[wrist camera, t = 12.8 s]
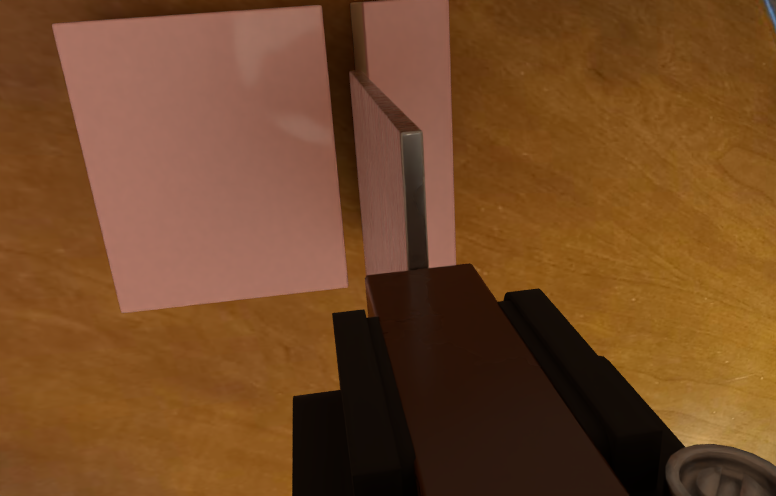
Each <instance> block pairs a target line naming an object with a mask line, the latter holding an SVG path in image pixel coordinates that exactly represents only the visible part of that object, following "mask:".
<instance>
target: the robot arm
mask: <svg viewBox="0 0 776 496" xmlns="http://www.w3.org/2000/svg"><path fill="white" fill-rule="evenodd" d="M497 303H498V304H499V306H500V307H501V308H502V310H503V311H504V313H505V314H506V316H507V317H508V319H509V320H510V322H511V323H512V325H513V326H514V328H515V329H516V330H517V332H518V333H519V335H520V336H521V338H522V339H523V341H524V342H525V344H526V345H527V347H528V348H529V350H530V351H531V352H532V354H533V355H534V357H535V358H536V360H537V361H538V363H539V364H540V366H541V367H542V369H543V370H544V372H545V373H546V374H547V376H548V377H549V379H550V380H551V382H552V383H553V385H554V386H555V388H556V389H557V391H558V392H559V394H560V395H561V397H562V398H563V399H564V401H565V402H566V404H567V405H568V407H569V408H570V410H571V411H572V413H573V414H574V416H575V417H576V419H577V420H578V421H579V423H580V424H581V426H582V427H583V429H584V430H585V432H586V433H587V434H588V435H589V436H590V438H591V439H592V441H593V442H594V444H595V445H596V447H597V448H598V449H599V451H600V452H601V454H602V455H603V457H604V458H605V460H606V461H607V463H608V464H609V466H610V467H611V468H612V470H613V471H614V473H615V474H616V476H617V477H618V479H619V480H620V482H621V483H622V485H623V486H624V487H625V489H626V490H627V492H628V493H629V495H630V496H776V466H774V465H773V464H772V463H770V462H768V461H766V460H764V459H762V458H761V457H759V456H757V455H755V454H753V453H750V452H747V451H744V450H740V449H737V448H734V447H729V446H723V445H716V444H700V445H693V446H689V447H685V446H684V445H683V444H682V443H681V442H680V441H679V439H678V438H677V437H676V436H675V435H674V434H673V433H672V431H671V430H670V429H669V428H668V427H667V426H666V425H665V424H664V422H663V421H662V420H661V419H660V418H659V417H658V416H657V415H656V413H655V412H654V411H653V410H652V409H651V408H650V407H649V405H648V404H647V403H646V402H645V401H644V400H643V399H642V398H641V396H640V395H639V394H638V393H637V392H636V391H635V390H634V388H633V387H632V386H631V385H630V384H629V383H628V382H627V381H626V379H625V378H624V377H623V376H622V375H621V374H620V373H619V372H618V370H617V369H616V368H615V367H614V366H613V365H612V364H611V362H610V361H609V360H607V359H606V358H605V357H603V356H598V355H597V354H596V353H595V352H594V350H593V349H592V348H591V347H590V346H589V345H588V344H587V342H586V341H585V340H584V339H583V338H582V337H581V335H580V334H579V333H578V332H577V331H576V330H575V329H574V327H573V326H572V325H571V324H570V323H569V322H568V320H567V319H566V318H565V317H564V316H563V315H562V314H561V312H560V311H559V310H558V309H557V308H556V307H555V305H554V304H553V303H552V302H551V301H550V300H549V299H548V297H547V296H546V295H545V294H544V293H543V292H542V290H540V289H531V290H523V291H514V292H507V293H506V294H505V297H504V301H500V302H497ZM332 316H333V325H334V335H335V344H336V353H337V363H338V372H339V381H340V390H336V391H329V392H321V393H314V394H306V395H299V396H294V397H293V473H292V496H416V485H415V476H414V460H415V459H416V456H415V452H414V448H413V444H412V440H411V436H410V433H409V429H408V425H407V422H406V418H405V414H404V411H403V407H402V403H401V399H400V396H399V392H398V388H397V385H396V381H395V377H394V373H393V370H392V366H391V362H390V359H389V355H388V351H387V347H386V344H385V340H384V336H383V333H382V329H381V325H380V322H379V318H378V316H377V317H368V318H366V314H365V310H355V311H347V312H338V313H332Z"/></svg>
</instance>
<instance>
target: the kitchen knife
mask: <svg viewBox="0 0 776 496" xmlns="http://www.w3.org/2000/svg"><path fill="white" fill-rule="evenodd" d="M349 76H350V87H351V99H352V111H353V123H354V135H355V147H356V159H357V171H358V182H359V194H360V206H361V218H362V230H363V242H364V254H365V265H366V278H365V285H366V296H367V308H368V317H377V316H378V318H379V322H380V325H381V329H382V333H383V336H384V340H385V344H386V347H387V351H388V355H389V359H390V362H391V366H392V370H393V373H394V377H395V381H396V385H397V388H398V392H399V396H400V399H401V403H402V407H403V411H404V414H405V418H406V422H407V425H408V429H409V433H410V436H411V440H412V444H413V448H414V452H415V456H416V459H415V460H414V476H415V485H416V496H630V495H629V493H628V492H627V490H626V489H625V487H624V486H623V485H622V483H621V482H620V480H619V479H618V477H617V476H616V474H615V473H614V471H613V470H612V468H611V467H610V466H609V464H608V463H607V461H606V460H605V458H604V457H603V455H602V454H601V452H600V451H599V449H598V448H597V447H596V445H595V444H594V442H593V441H592V439H591V438H590V436H589V435H588V434H587V433H586V432H585V430H584V429H583V427H582V426H581V424H580V423H579V421H578V420H577V419H576V417H575V416H574V414H573V413H572V411H571V410H570V408H569V407H568V405H567V404H566V402H565V401H564V399H563V398H562V397H561V395H560V394H559V392H558V391H557V389H556V388H555V386H554V385H553V383H552V382H551V380H550V379H549V377H548V376H547V374H546V373H545V372H544V370H543V369H542V367H541V366H540V364H539V363H538V361H537V360H536V358H535V357H534V355H533V354H532V352H531V351H530V350H529V348H528V347H527V345H526V344H525V342H524V341H523V339H522V338H521V336H520V335H519V333H518V332H517V330H516V329H515V328H514V326H513V325H512V323H511V322H510V320H509V319H508V317H507V316H506V314H505V313H504V311H503V310H502V308H501V307H500V306H499V304H498V303H497V300H496V299H495V297H494V296H493V294H492V293H491V291H490V290H489V289H488V287H487V286H486V284H485V283H484V281H483V280H482V278H481V277H480V275H479V274H478V272H477V271H476V270H475V268H474V267H473V265H472V264H460V265H452V266H443V267H434V268H429V258H428V235H427V213H426V191H425V169H424V147H423V132H422V130H421V129H420V128H419V127H417V126H416V125H415V124H414V123H413V122H412V121H411V120H410V119H409V118H408V117H407V116H406V115H405V114H404V113H403V112H402V111H401V110H400V109H399V108H398V107H397V106H396V105H395V104H394V103H393V102H392V101H391V100H390V99H389V98H388V97H387V96H386V95H385V94H384V93H383V92H382V91H381V90H380V89H379V88H378V87H377V86H376V85H375V84H374V83H373V82H372V81H371V80H370V79H369V78H368V77H367V76H366V75H365V74H364V73H363V72H362V71H360V70H357V71H350V72H349Z"/></svg>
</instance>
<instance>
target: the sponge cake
mask: <svg viewBox="0 0 776 496" xmlns="http://www.w3.org/2000/svg"><path fill="white" fill-rule="evenodd" d="M52 28H53V32H54V36H55V40H56V44H57V49H58V53H59V57H60V61H61V65H62V69H63V73H64V78H65V82H66V86H67V90H68V94H69V98H70V102H71V107H72V111H73V115H74V119H75V123H76V127H77V131H78V136H79V140H80V144H81V148H82V152H83V156H84V160H85V164H86V169H87V173H88V177H89V181H90V185H91V189H92V193H93V198H94V202H95V206H96V210H97V214H98V218H99V222H100V227H101V231H102V235H103V239H104V243H105V247H106V251H107V256H108V260H109V264H110V268H111V272H112V276H113V280H114V284H115V289H116V293H117V297H118V301H119V305H120V309H121V312H122V313H127V312H136V311H145V310H154V309H162V308H171V307H180V306H188V305H197V304H206V303H215V302H223V301H232V300H241V299H250V298H258V297H267V296H276V295H285V294H293V293H302V292H311V291H319V290H328V289H337V288H346V287H348V276H347V266H346V255H345V245H344V234H343V224H342V213H341V203H340V192H339V182H338V171H337V161H336V151H335V140H334V130H333V119H332V109H331V98H330V88H329V77H328V67H327V56H326V46H325V35H324V25H323V14H322V7H321V5H311V6H296V7H282V8H267V9H253V10H238V11H224V12H209V13H195V14H180V15H166V16H151V17H137V18H122V19H108V20H94V21H80V22H66V23H54V24H52Z"/></svg>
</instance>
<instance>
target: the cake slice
mask: <svg viewBox="0 0 776 496" xmlns="http://www.w3.org/2000/svg"><path fill="white" fill-rule="evenodd" d="M350 11H351V23H352V36H353V48H354V61H355V71H357V70H360V71H362V72H363V73H364V74H365V75H366V76H367V77H368V78H369V79H370V80H371V81H372V82H373V83H374V84H375V85H376V86H377V87H378V88H379V89H380V90H381V91H382V92H383V93H384V94H385V95H386V96H387V97H388V98H389V99H390V100H391V101H392V102H393V103H394V104H395V105H396V106H397V107H398V108H399V109H400V110H401V111H402V112H403V113H404V114H405V115H406V116H407V117H408V118H409V119H410V120H411V121H412V122H413V123H414V124H415V125H416V126H417V127H419V128H420V129H421V130H422V132H423V147H424V169H425V191H426V213H427V235H428V258H429V268H434V267H443V266H452V265H456V249H455V213H454V176H453V140H452V104H451V67H450V31H449V0H383V1H369V2H354V3H350Z"/></svg>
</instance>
